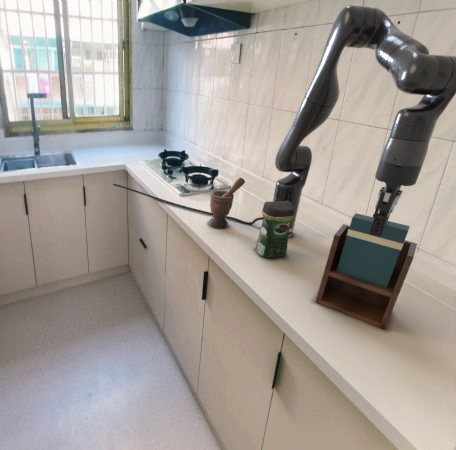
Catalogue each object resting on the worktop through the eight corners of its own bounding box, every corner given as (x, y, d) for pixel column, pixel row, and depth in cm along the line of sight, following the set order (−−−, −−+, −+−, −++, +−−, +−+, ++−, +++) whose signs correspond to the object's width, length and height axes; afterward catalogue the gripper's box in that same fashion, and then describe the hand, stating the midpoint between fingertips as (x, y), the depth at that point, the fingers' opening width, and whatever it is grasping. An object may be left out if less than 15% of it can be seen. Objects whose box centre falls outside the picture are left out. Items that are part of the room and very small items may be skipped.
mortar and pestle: (231, 219, 140) (237, 172, 132) (240, 228, 132) (247, 179, 124) (204, 221, 138) (210, 173, 130) (212, 229, 130) (218, 179, 122)
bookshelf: (315, 302, 90) (334, 234, 82) (324, 287, 96) (343, 224, 88) (384, 329, 81) (413, 257, 73) (389, 312, 87) (417, 243, 79)
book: (335, 271, 86) (352, 216, 79) (339, 266, 88) (355, 212, 82) (386, 288, 79) (408, 230, 73) (388, 282, 82) (410, 226, 76)
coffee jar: (277, 247, 119) (287, 197, 111) (289, 258, 112) (301, 205, 104) (251, 248, 117) (260, 198, 109) (262, 260, 110) (272, 206, 102)
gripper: (386, 152, 79) (365, 216, 85) (375, 162, 69) (353, 234, 75) (425, 158, 75) (400, 225, 81) (420, 169, 64) (392, 244, 71)
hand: (378, 229), depth 78 cm, fingers open, 8 cm apart
